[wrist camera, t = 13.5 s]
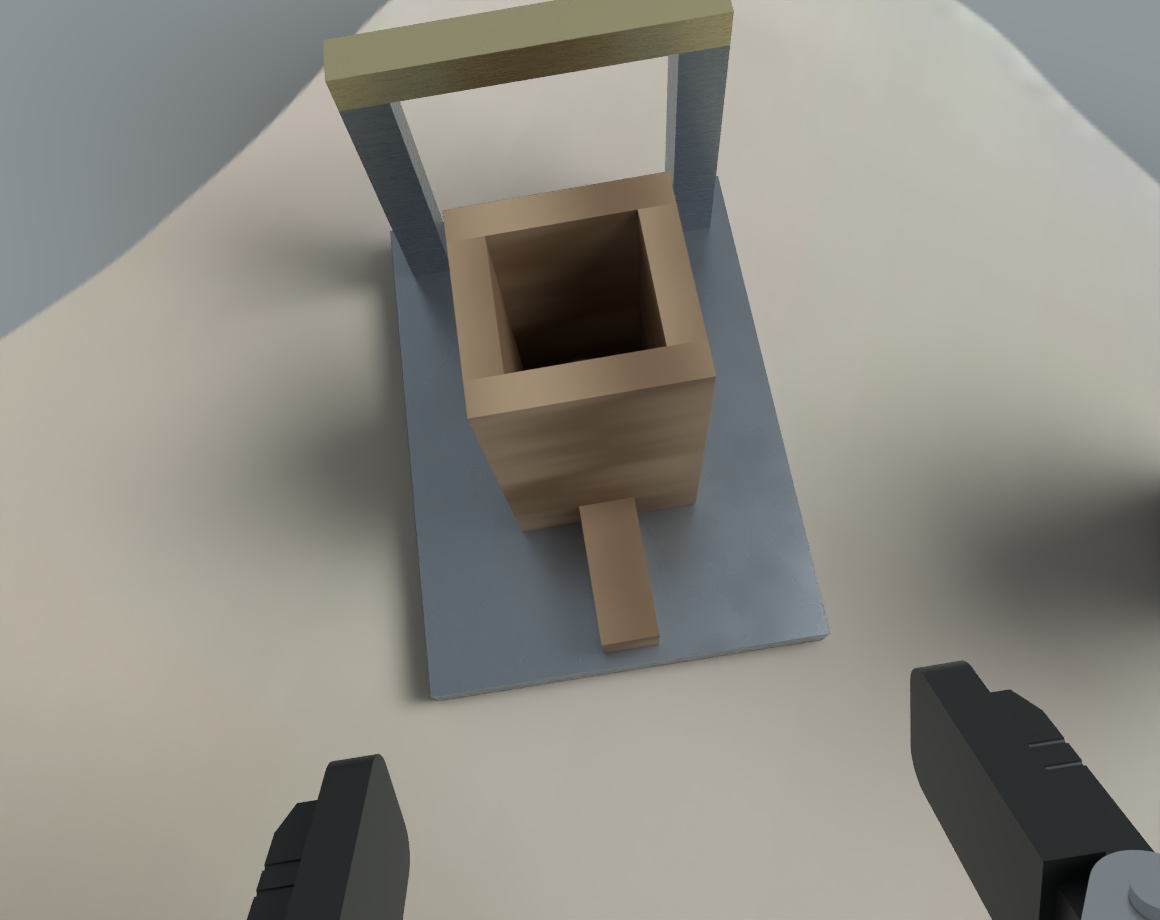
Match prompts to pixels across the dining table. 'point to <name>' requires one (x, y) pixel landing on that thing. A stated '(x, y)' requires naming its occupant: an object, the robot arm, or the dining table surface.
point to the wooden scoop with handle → (586, 370)
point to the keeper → (434, 375)
